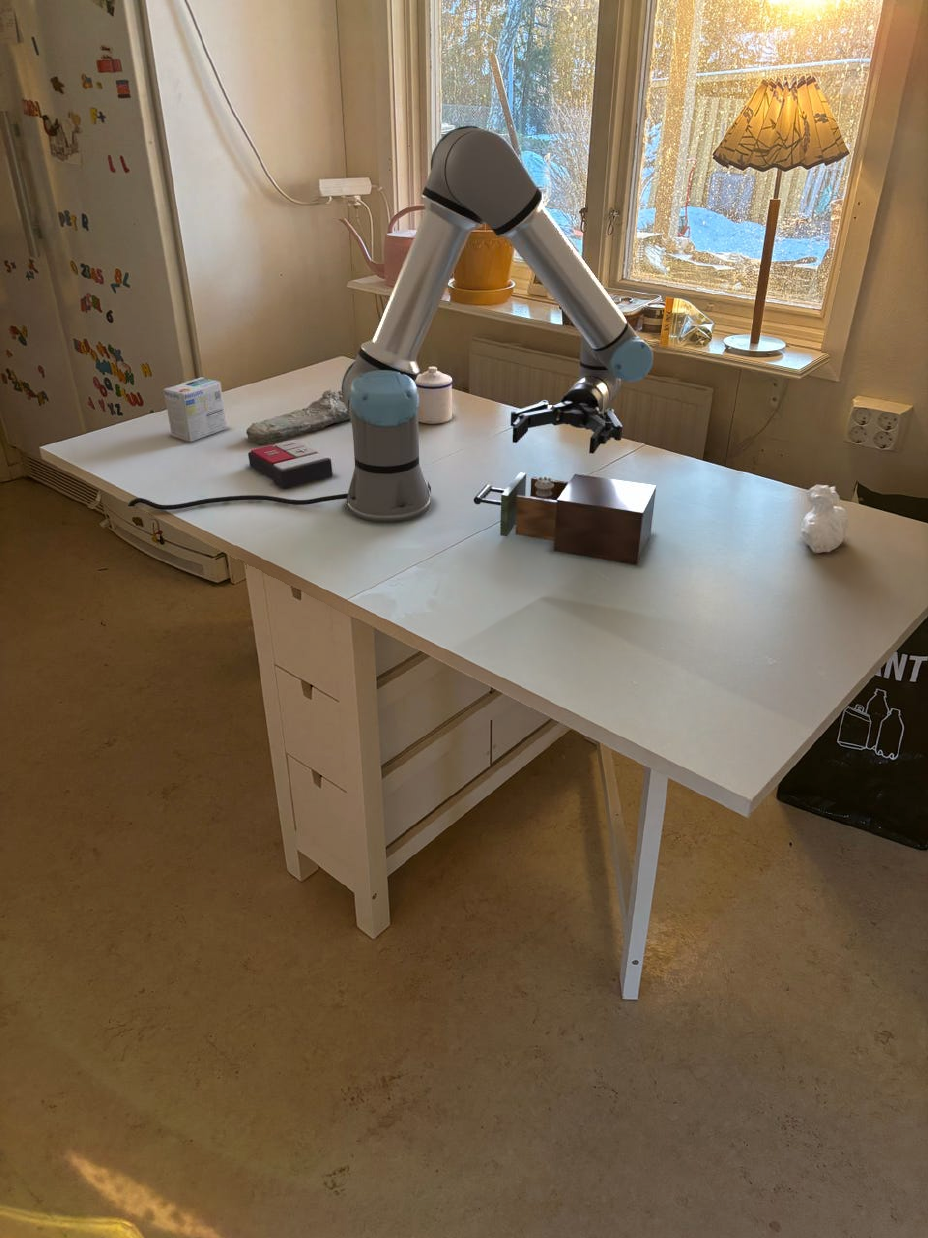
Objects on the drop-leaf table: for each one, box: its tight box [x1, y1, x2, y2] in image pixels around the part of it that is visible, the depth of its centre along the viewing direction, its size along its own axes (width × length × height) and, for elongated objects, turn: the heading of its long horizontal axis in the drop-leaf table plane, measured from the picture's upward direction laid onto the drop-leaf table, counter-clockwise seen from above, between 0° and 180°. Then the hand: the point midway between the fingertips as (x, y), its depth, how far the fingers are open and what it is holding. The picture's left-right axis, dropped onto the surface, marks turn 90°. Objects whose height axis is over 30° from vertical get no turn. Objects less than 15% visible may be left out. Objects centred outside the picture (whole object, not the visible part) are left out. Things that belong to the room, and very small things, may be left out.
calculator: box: [247, 439, 333, 490], centre depth 180 cm, size 11×4×15 cm
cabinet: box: [553, 473, 657, 566], centre depth 152 cm, size 14×12×9 cm
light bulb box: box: [163, 377, 228, 443], centre depth 197 cm, size 11×7×11 cm, turn 144°
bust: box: [800, 484, 849, 554], centre depth 153 cm, size 12×8×11 cm
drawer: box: [473, 472, 570, 542], centre depth 156 cm, size 19×10×8 cm, turn 69°
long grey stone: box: [246, 389, 350, 446], centre depth 204 cm, size 35×5×10 cm
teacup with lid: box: [415, 366, 454, 425], centre depth 206 cm, size 12×9×12 cm
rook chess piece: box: [535, 476, 554, 500], centre depth 155 cm, size 4×4×8 cm
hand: (552, 440), depth 154 cm, fingers open, 13 cm apart
